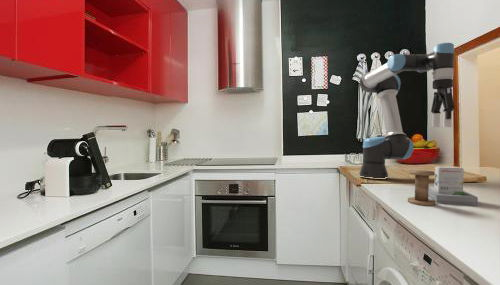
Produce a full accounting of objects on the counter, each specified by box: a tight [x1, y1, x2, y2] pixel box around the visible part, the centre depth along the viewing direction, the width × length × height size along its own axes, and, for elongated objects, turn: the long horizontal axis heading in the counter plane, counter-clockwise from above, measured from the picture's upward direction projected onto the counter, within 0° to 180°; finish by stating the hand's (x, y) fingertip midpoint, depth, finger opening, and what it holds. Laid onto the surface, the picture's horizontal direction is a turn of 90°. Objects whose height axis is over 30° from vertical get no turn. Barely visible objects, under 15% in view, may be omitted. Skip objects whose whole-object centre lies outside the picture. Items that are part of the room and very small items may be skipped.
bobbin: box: [407, 169, 437, 207], centre depth 106 cm, size 9×9×12 cm
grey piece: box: [428, 187, 479, 206], centre depth 110 cm, size 14×13×3 cm
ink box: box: [433, 166, 465, 196], centre depth 111 cm, size 9×5×12 cm, turn 73°
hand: (441, 127), depth 124 cm, fingers open, 13 cm apart
